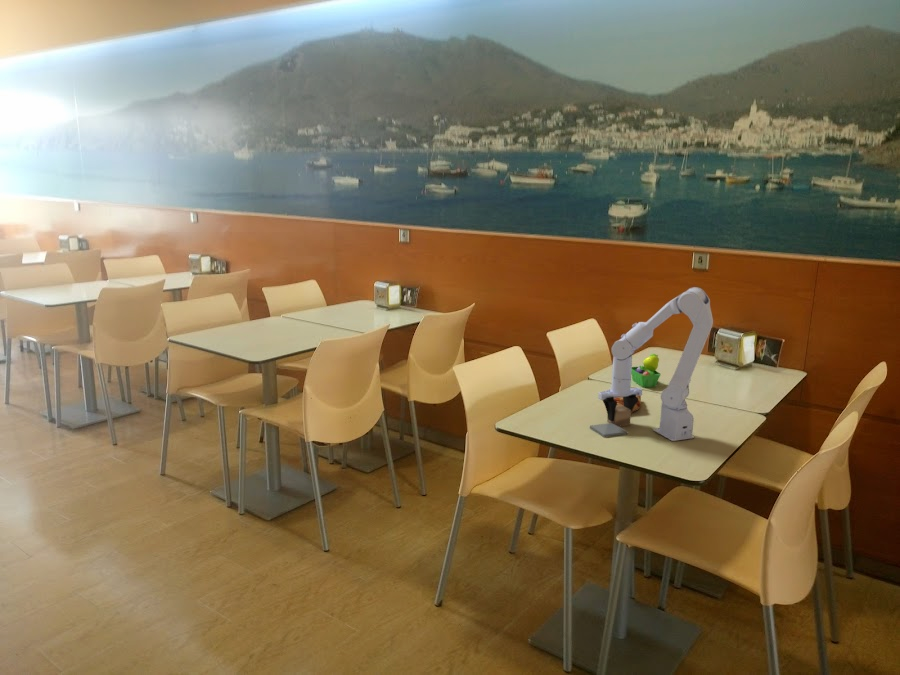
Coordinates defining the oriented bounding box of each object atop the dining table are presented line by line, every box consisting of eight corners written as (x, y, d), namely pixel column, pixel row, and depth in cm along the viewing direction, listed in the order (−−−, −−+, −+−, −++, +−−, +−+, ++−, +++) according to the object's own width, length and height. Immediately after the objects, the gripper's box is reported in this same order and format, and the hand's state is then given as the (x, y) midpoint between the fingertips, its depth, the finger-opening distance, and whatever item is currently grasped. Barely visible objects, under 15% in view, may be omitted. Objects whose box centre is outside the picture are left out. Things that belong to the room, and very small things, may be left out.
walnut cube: (629, 425, 211) (630, 409, 210) (615, 427, 210) (616, 411, 209) (620, 419, 216) (621, 404, 215) (607, 421, 214) (608, 406, 213)
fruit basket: (627, 379, 259) (629, 351, 257) (649, 378, 261) (651, 350, 258) (641, 388, 248) (643, 358, 246) (663, 387, 250) (666, 357, 247)
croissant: (629, 408, 238) (620, 387, 238) (655, 400, 231) (646, 378, 232) (603, 424, 221) (594, 401, 222) (630, 416, 215) (621, 392, 216)
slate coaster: (627, 434, 204) (627, 431, 204) (603, 437, 202) (604, 434, 201) (612, 425, 212) (612, 422, 211) (589, 428, 209) (589, 425, 209)
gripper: (634, 371, 215) (631, 412, 219) (593, 375, 211) (591, 417, 214) (647, 377, 209) (644, 419, 212) (606, 382, 204) (603, 425, 207)
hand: (618, 419), depth 212 cm, fingers closed on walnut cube, 5 cm apart
